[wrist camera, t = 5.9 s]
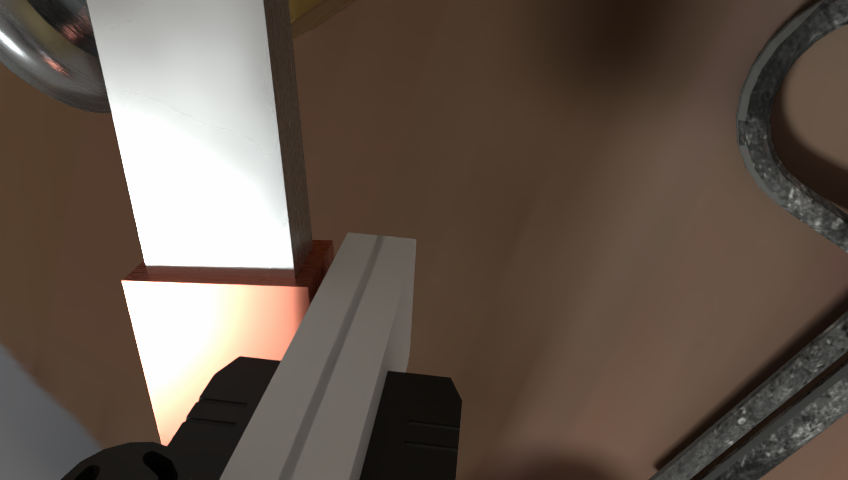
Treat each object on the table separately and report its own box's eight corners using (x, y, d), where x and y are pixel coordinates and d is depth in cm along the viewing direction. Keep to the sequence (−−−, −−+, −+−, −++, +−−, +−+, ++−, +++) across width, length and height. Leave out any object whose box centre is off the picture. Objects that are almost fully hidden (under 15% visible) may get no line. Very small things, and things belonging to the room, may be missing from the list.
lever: (-2, -471, 8) (-122, -570, 7) (302, -498, 8) (251, -609, 6) (200, 469, 15) (165, 534, 13) (369, 480, 15) (354, 547, 13)
